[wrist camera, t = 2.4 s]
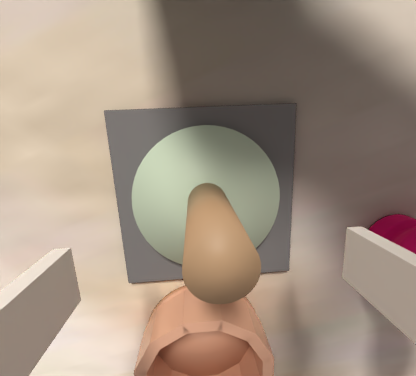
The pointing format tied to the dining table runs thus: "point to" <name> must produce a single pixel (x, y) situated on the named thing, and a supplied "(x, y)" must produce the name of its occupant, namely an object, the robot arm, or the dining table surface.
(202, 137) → the plunger
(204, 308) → the bowl
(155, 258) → the mat
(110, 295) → the dining table surface
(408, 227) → the pepper mill
